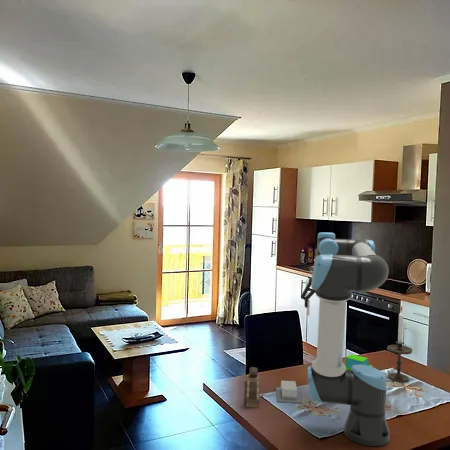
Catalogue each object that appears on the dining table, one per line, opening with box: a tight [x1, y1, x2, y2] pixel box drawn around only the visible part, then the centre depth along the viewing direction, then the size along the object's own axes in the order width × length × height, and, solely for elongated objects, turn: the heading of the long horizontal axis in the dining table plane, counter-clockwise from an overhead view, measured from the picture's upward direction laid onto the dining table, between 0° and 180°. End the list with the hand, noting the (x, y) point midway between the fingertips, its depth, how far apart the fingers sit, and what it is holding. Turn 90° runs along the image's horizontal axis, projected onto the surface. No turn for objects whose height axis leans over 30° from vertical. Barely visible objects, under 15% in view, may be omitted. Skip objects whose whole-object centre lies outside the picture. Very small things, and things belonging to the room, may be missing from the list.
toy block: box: [344, 353, 374, 370], centre depth 206 cm, size 10×13×10 cm
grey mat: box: [275, 386, 303, 404], centre depth 183 cm, size 14×10×1 cm
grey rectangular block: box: [280, 380, 298, 400], centre depth 183 cm, size 9×6×4 cm, turn 176°
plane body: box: [245, 366, 260, 408], centre depth 184 cm, size 26×5×10 cm, turn 176°
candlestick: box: [386, 305, 413, 383], centre depth 204 cm, size 11×11×35 cm
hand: (323, 315), depth 192 cm, fingers open, 13 cm apart
